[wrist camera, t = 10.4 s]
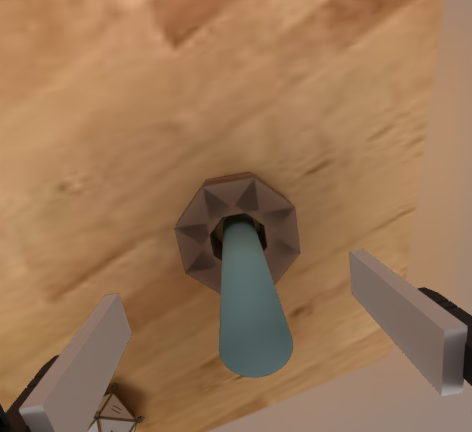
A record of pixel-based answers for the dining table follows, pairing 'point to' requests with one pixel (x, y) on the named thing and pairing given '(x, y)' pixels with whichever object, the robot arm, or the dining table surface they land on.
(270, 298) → the teal rounded stick
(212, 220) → the bead
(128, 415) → the game die
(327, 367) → the dining table surface
